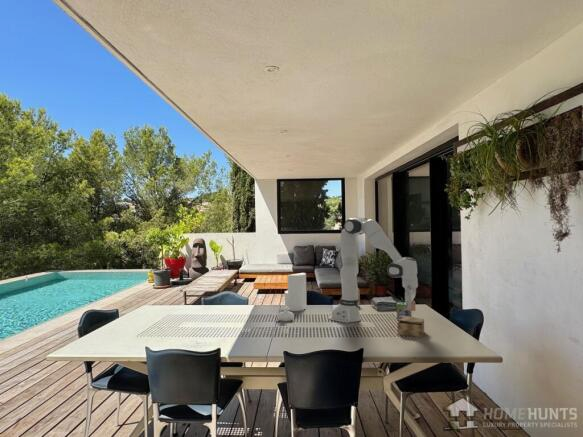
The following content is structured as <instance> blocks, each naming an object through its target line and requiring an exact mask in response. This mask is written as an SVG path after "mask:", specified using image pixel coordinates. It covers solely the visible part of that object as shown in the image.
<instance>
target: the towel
mask: <svg viewBox="0 0 583 437" xmlns="http://www.w3.org/2000/svg"><path fill="white" fill-rule="evenodd" d="M396 302H397V301H396V300H394V298H393V297H392V296H384V297H383V296H380V297H377V296H376V297H373V298H372V299H371V306H372V305H374V306H372V307H373V308H374V309H375V310H376V311H391V310H392V311H394V310H396V311H397V306H396Z"/></svg>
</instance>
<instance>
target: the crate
mask: <svg viewBox="0 0 583 437" xmlns="http://www.w3.org/2000/svg"><path fill="white" fill-rule="evenodd" d="M424 334H425V320H424V321H423V324H422V325H421V324H415V323H409V322H403V321H398V320H397V335H398V336H399V335H400V336H406V337H408V336H409V337H416V338H423V337H424Z"/></svg>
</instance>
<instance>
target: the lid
mask: <svg viewBox="0 0 583 437" xmlns="http://www.w3.org/2000/svg"><path fill="white" fill-rule="evenodd" d="M398 321H403V322H409V323H415V324H421V325H422V324H423V321H424V322H425V319H424V318H422V317H414V316H412V317H409V316H403V315H400V316H399V318H398V320H397V322H398Z"/></svg>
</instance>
